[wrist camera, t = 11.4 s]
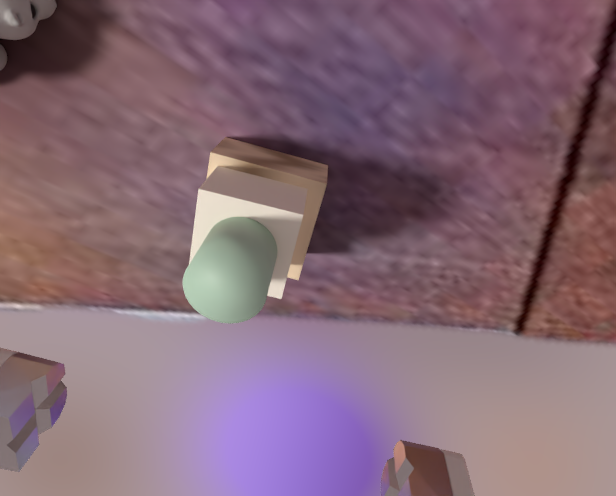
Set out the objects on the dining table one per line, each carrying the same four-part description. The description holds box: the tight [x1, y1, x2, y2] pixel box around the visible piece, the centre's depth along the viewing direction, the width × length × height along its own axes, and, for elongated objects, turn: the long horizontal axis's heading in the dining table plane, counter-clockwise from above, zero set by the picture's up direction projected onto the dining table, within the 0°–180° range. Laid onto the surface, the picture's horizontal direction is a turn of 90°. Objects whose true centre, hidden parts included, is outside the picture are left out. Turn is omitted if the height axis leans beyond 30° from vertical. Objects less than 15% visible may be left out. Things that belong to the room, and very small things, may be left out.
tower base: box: [207, 137, 328, 280], centre depth 36 cm, size 9×9×5 cm
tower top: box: [189, 166, 308, 299], centre depth 31 cm, size 7×7×5 cm
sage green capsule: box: [183, 217, 277, 323], centre depth 27 cm, size 5×5×5 cm
